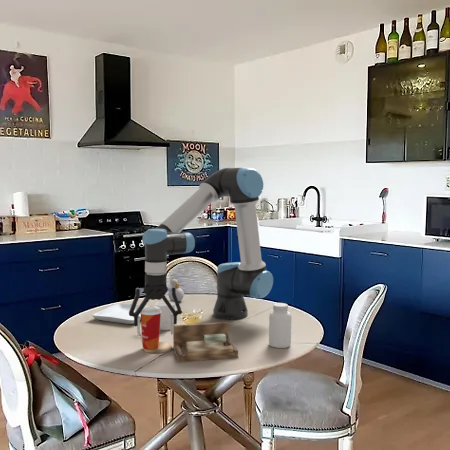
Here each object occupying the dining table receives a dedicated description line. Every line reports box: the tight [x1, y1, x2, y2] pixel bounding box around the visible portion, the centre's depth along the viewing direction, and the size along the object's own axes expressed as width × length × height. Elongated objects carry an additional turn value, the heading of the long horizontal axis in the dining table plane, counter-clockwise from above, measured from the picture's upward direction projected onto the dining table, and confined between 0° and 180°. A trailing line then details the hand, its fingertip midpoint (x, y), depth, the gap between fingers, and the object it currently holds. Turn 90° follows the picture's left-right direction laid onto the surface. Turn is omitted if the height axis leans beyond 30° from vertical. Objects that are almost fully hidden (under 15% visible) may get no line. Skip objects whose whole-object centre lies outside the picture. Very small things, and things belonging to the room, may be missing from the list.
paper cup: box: [140, 305, 162, 350], centre depth 182 cm, size 8×8×14 cm
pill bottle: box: [268, 302, 292, 349], centre depth 186 cm, size 8×8×15 cm
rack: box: [172, 321, 239, 363], centre depth 179 cm, size 20×15×8 cm
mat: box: [143, 341, 173, 354], centre depth 183 cm, size 10×10×1 cm
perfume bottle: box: [168, 277, 185, 303], centre depth 249 cm, size 8×10×12 cm
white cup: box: [155, 300, 176, 331], centre depth 207 cm, size 8×8×10 cm
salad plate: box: [91, 302, 150, 325], centre depth 222 cm, size 21×21×3 cm
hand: (155, 334), depth 182 cm, fingers open, 11 cm apart
